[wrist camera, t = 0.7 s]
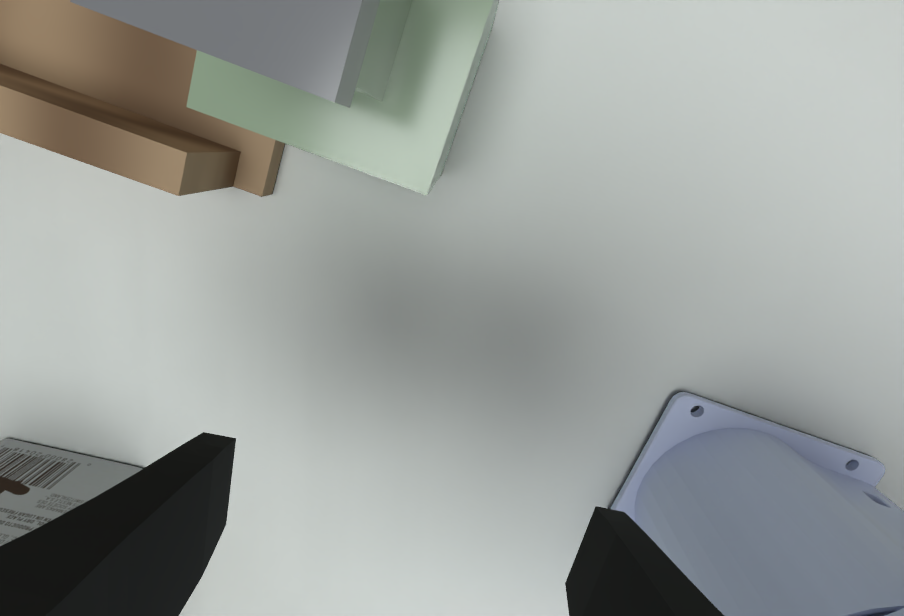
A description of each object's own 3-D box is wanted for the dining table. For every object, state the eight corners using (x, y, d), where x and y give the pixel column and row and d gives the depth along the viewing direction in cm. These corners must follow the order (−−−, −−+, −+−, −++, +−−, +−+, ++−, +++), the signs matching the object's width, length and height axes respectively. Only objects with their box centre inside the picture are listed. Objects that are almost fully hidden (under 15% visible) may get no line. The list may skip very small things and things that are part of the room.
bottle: (492, 26, 17) (580, -309, 4) (441, 175, 18) (400, 234, 6) (345, -33, 16) (-11, -590, 4) (305, 124, 18) (-47, 72, 5)
